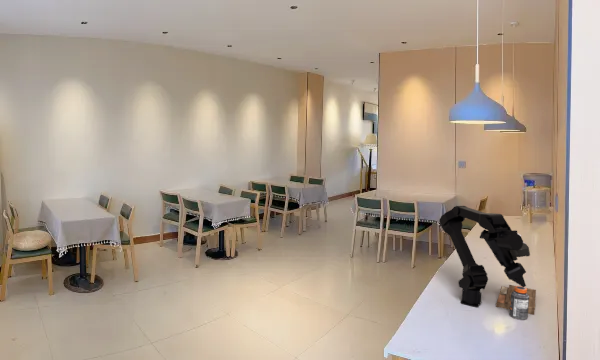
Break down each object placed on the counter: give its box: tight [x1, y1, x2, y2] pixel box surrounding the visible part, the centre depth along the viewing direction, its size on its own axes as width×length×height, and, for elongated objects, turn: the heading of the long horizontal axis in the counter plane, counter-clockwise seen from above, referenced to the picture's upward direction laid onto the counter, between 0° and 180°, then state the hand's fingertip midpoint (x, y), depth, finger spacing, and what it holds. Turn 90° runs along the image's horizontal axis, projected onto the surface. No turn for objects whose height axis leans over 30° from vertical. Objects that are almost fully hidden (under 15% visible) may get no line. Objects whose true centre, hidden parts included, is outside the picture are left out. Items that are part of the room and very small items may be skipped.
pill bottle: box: [508, 285, 529, 321], centre depth 147 cm, size 6×6×11 cm
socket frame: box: [495, 284, 537, 316], centre depth 162 cm, size 13×22×2 cm, turn 149°
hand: (520, 280), depth 148 cm, fingers open, 9 cm apart
